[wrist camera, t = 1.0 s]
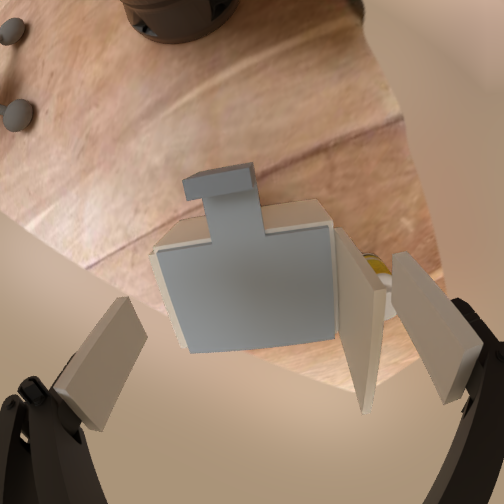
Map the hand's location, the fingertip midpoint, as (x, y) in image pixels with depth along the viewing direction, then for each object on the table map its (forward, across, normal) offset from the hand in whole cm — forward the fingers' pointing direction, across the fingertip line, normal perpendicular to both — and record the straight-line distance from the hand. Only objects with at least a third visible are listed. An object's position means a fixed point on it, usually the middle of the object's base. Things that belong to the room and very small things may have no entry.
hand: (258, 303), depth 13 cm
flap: (+14, -3, -5) cm, 15 cm away
